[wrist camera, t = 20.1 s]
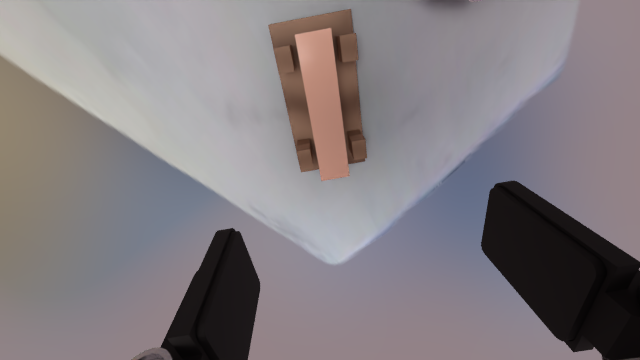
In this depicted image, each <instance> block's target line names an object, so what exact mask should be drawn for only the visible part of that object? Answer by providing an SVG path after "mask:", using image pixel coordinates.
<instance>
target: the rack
mask: <svg viewBox="0 0 640 360" xmlns="http://www.w3.org/2000/svg"><path fill="white" fill-rule="evenodd" d="M268 26H269V30H270V35H271V39H272V44H273V48H274V54H275V58H276V62H277V67H278V71H279V75H280V79H281V84H282V88H283V93H284V97H285V102H286V106H287V111H288V115H289V120H290V124H291V128H292V133H293V137H294V142H295V146H296V151H297V156H298V160H299V165H300V169H301V172H306V171H311V170H317V169H319V164H318V159H317V153H316V148H315V142H314V137H313V132H312V126H311V121H310V115H309V110H308V104H307V99H306V94H305V88H304V83H303V77H302V72H301V66H300V61H299V56H298V50H297V45H296V39H295V34H301V33H306V32H311V31H317V30H322V29H327V28H331V31H332V39H333V47H334V55H335V63H336V71H337V79H338V87H339V95H340V103H341V111H342V119H343V127H344V135H345V143H346V151H347V159H348V164H352V163H357V162H363V161H365V158H367V153H366V141H365V138H364V136H363V134H362V123H361V113H360V102H359V91H358V80H357V69H356V60H358V50H357V39H356V33H353V26H352V15H351V9H348V10H343V11H338V12H332V13H327V14H322V15H317V16H312V17H306V18H301V19H296V20H291V21H286V22H280V23H275V24H270V25H268Z"/></svg>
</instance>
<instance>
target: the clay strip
mask: <svg viewBox="0 0 640 360" xmlns="http://www.w3.org/2000/svg"><path fill="white" fill-rule="evenodd" d="M295 39H296V45H297V50H298V56H299V61H300V66H301V72H302V77H303V83H304V88H305V94H306V99H307V104H308V110H309V115H310V121H311V126H312V132H313V137H314V142H315V148H316V153H317V159H318V164H319V170H320V175H321V180H322V181H324V180H330V179H336V178H341V177H347V176H350V175H349V167H348V159H347V151H346V143H345V135H344V127H343V119H342V111H341V103H340V95H339V87H338V79H337V71H336V63H335V55H334V47H333V39H332V31H331V28H327V29H322V30H317V31H311V32H306V33H301V34H295Z"/></svg>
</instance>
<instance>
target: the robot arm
mask: <svg viewBox="0 0 640 360" xmlns="http://www.w3.org/2000/svg"><path fill="white" fill-rule="evenodd" d="M481 246H482V250H483V252H484V253H485V255H486V256H487V257H488V258H489V260H490V261H491V262H492V263H493V264H494V265H495V267H496V268H497V269H498V270H499V271H500V272H501V273H502V275H503V276H504V277H505V278H506V279H507V281H508V282H509V283H510V284H511V285H512V286H513V287H514V289H515V290H516V291H517V292H518V293H519V295H520V296H521V297H522V298H523V299H524V300H525V302H526V303H527V304H528V305H529V306H530V308H531V309H532V310H533V311H534V312H535V313H536V315H537V316H538V317H539V318H540V319H541V320H542V322H543V323H544V324H545V325H546V326H547V328H548V329H549V330H550V331H551V332H552V333H553V334H554V336H555V337H556V338H558V339H559V340H561V341H564V342H565V343H566V344H567V345H568V346H569V348H571V350H572V351H573V352H578V351H584V350H592V349H593V347H595V348H596V349H597V350H598V351H599V352H600V353H601V354H602V360H640V271H639V270H638V269H639V268H640V262H639V261H638V260H636V259H635V258H633V257H631V256H630V255H629V254H627V253H625V252H624V251H622V250H621V249H619V248H618V247H616V246H615V245H613V244H612V243H610V242H609V241H607V240H606V239H604V238H603V237H601V236H600V235H598V234H596V233H595V232H593V231H592V230H590V229H589V228H587V227H586V226H584V225H583V224H581V223H580V222H578V221H577V220H575V219H574V218H572V217H571V216H569V215H567V214H566V213H564V212H563V211H561V210H560V209H558V208H557V207H555V206H554V205H552V204H551V203H549V202H548V201H546V200H545V199H543V198H541V197H540V196H538V195H537V194H535V193H534V192H532V191H531V190H529V189H528V188H526V187H525V186H523V185H522V184H520V183H519V182H517V181H508V182H502V183H497V184H495V186H494V188H493V189H491V190H490V194H489V200H488V206H487V212H486V218H485V224H484V230H483V236H482V242H481ZM259 293H260V281H259V278H258V276H257V273H256V271H255V268H254V266H253V264H252V261H251V258H250V256H249V253H248V251H247V248H246V246H245V243H244V241H243V238H242V236H241V233H240V232H239V231H235V230H234V229H233V228H231V229H225V230H219V231H217V232H216V233H215V236H214V238H213V240H212V242H211V244H210V246H209V249H208V251H207V253H206V255H205V258H204V260H203V262H202V264H201V266H200V268H199V270H198V271H197V272H196V274H195V275H194V277H193V279H192V281H191V283H190V285H189V288H188V290H187V292H186V294H185V296H184V298H183V300H182V303H181V305H180V307H179V309H178V311H177V313H176V315H175V317H174V320H173V322H172V324H171V326H170V328H169V330H168V333H167V335H166V337H165V339H164V341H163V343H162V345H161V347H160V348H152V349H149V350H146V351H144V352H142V353H140V354H139V355H137V356H135V357H134V358H133V359H132V360H248V355H249V349H250V343H251V338H252V332H253V326H254V321H255V315H256V310H257V304H258V298H259Z"/></svg>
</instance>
